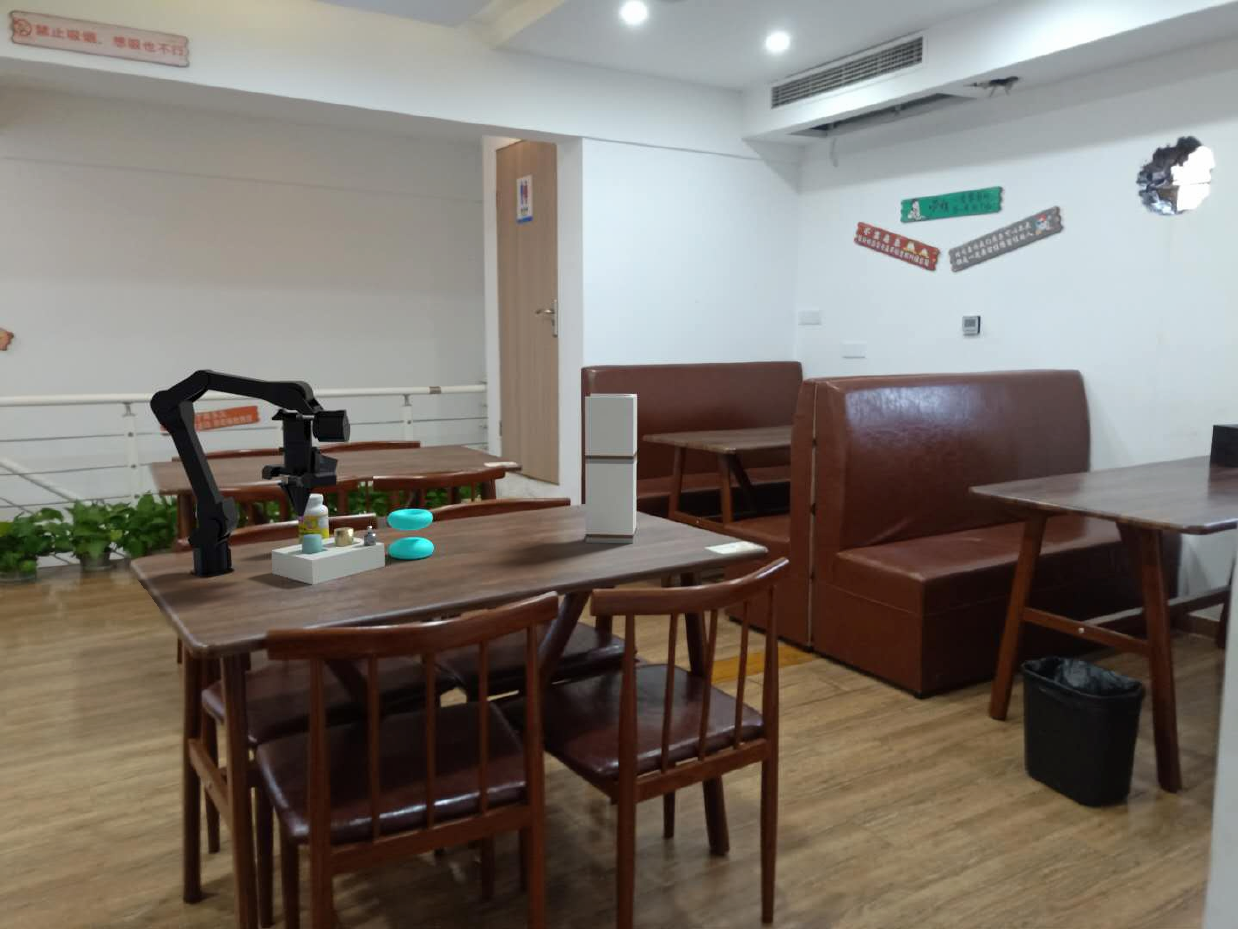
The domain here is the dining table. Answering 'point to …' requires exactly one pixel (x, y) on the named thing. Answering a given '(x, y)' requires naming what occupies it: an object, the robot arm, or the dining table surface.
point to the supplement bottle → (314, 518)
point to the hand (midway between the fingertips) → (300, 516)
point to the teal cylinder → (311, 543)
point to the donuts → (412, 545)
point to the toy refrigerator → (611, 467)
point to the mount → (327, 561)
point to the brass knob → (344, 537)
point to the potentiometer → (369, 538)
